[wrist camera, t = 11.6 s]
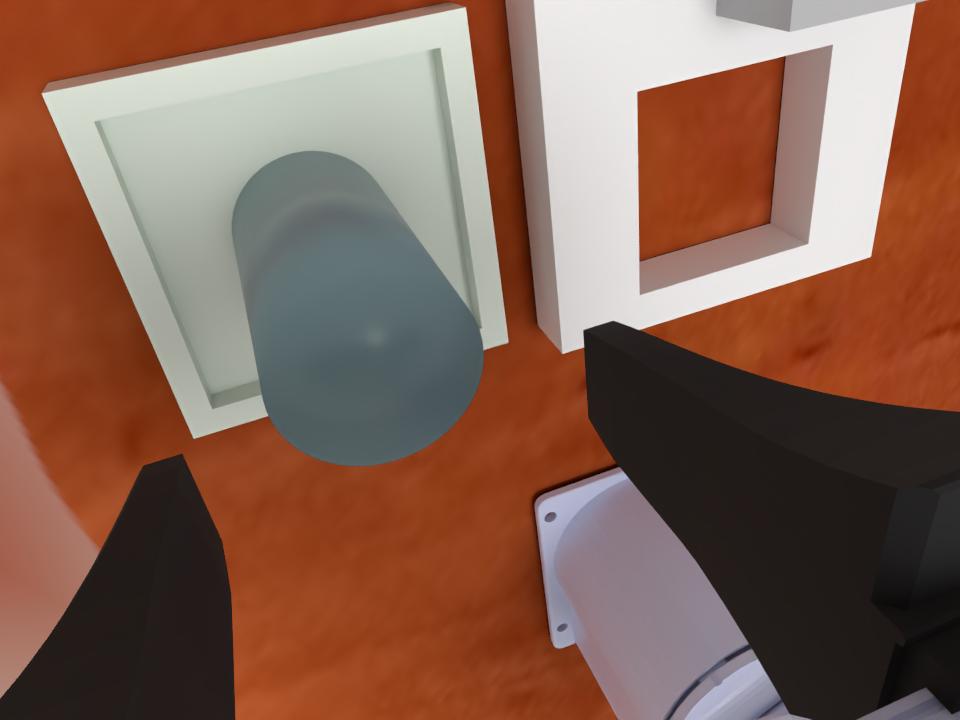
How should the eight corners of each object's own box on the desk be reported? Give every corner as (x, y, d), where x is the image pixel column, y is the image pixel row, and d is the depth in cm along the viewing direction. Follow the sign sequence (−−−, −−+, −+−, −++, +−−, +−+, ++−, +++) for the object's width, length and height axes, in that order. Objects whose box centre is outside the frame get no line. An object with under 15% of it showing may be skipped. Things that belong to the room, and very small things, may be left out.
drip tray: (495, 325, 25) (508, 342, 25) (192, 416, 23) (193, 438, 22) (451, 1, 20) (465, 7, 19) (48, 82, 18) (41, 93, 17)
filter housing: (831, 236, 29) (940, 292, 25) (537, 325, 26) (606, 404, 22) (903, -278, 20) (1086, -319, 16) (483, -220, 18) (577, -253, 14)
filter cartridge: (405, 276, 23) (497, 425, 17) (260, 318, 22) (298, 493, 16) (372, 133, 21) (465, 242, 14) (208, 174, 20) (227, 311, 13)
